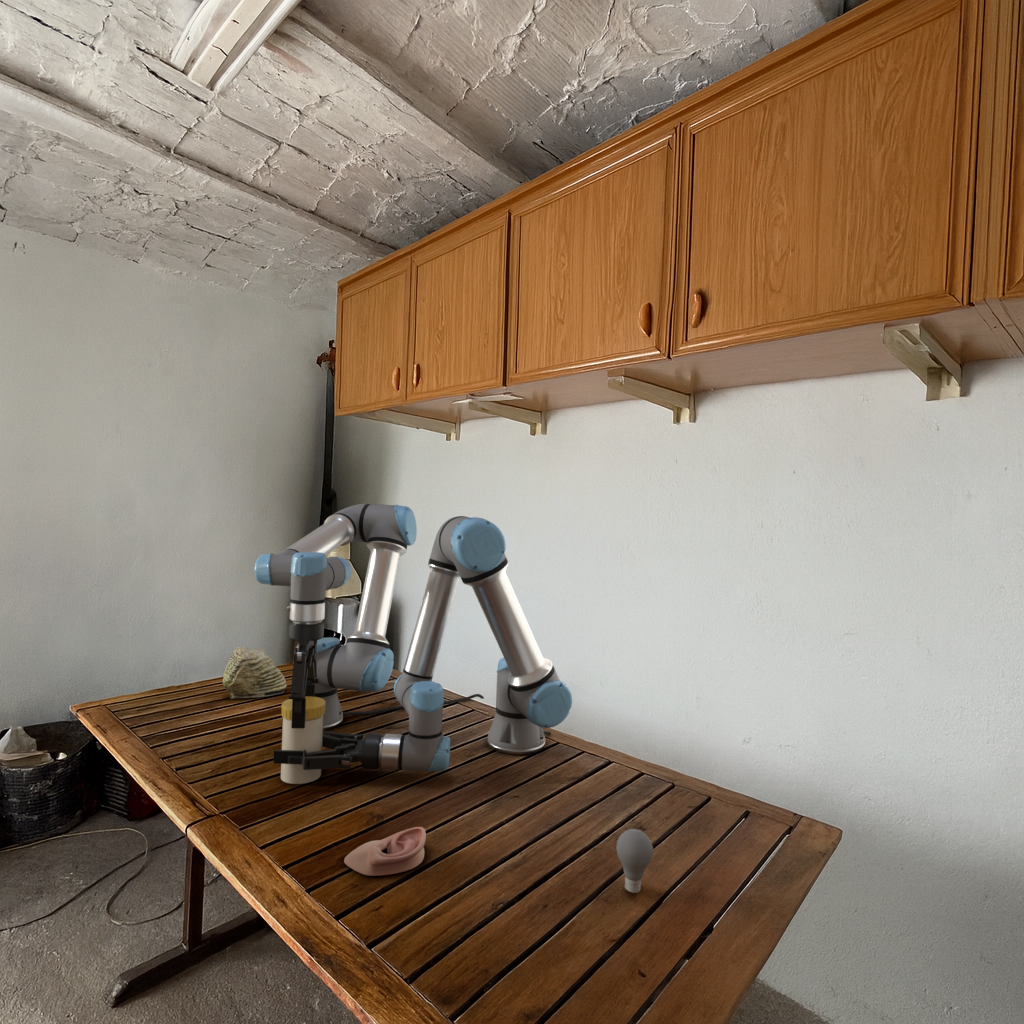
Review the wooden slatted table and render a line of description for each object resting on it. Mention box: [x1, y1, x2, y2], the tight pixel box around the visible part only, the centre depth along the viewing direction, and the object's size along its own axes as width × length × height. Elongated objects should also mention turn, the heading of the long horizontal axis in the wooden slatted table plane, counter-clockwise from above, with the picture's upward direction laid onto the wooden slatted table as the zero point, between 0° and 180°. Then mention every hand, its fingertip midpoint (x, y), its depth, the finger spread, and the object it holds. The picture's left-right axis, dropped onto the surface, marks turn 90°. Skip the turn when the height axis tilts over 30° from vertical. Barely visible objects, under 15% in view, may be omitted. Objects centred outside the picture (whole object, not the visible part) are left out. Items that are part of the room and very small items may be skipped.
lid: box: [280, 696, 326, 720], centre depth 143 cm, size 9×9×2 cm
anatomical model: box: [343, 826, 427, 877], centre depth 112 cm, size 13×4×12 cm
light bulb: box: [615, 828, 654, 894], centre depth 106 cm, size 6×6×10 cm
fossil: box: [222, 646, 288, 699], centre depth 198 cm, size 9×18×15 cm, turn 132°
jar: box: [280, 715, 324, 785], centre depth 143 cm, size 9×9×16 cm
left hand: (303, 719), depth 143 cm, fingers closed on lid, 9 cm apart
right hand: (281, 748), depth 143 cm, fingers closed on jar, 9 cm apart
